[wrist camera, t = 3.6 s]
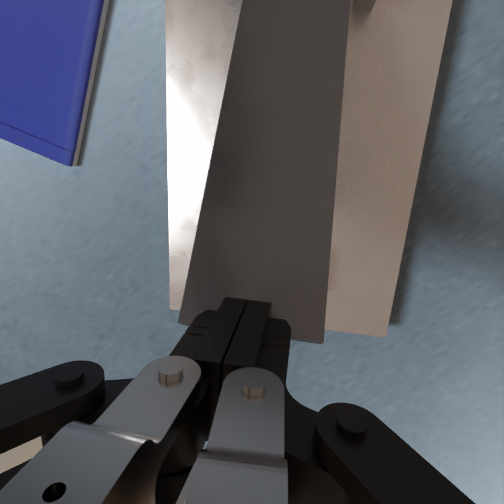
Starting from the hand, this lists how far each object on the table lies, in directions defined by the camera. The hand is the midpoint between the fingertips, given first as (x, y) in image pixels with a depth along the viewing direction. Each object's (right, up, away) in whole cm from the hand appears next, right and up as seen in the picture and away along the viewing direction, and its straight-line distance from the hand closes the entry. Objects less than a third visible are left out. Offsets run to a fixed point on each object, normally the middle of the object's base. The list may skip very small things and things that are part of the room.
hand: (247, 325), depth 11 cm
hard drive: (-15, +16, +14) cm, 26 cm away
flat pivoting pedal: (+2, +8, +5) cm, 9 cm away
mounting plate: (+3, +9, +13) cm, 16 cm away
